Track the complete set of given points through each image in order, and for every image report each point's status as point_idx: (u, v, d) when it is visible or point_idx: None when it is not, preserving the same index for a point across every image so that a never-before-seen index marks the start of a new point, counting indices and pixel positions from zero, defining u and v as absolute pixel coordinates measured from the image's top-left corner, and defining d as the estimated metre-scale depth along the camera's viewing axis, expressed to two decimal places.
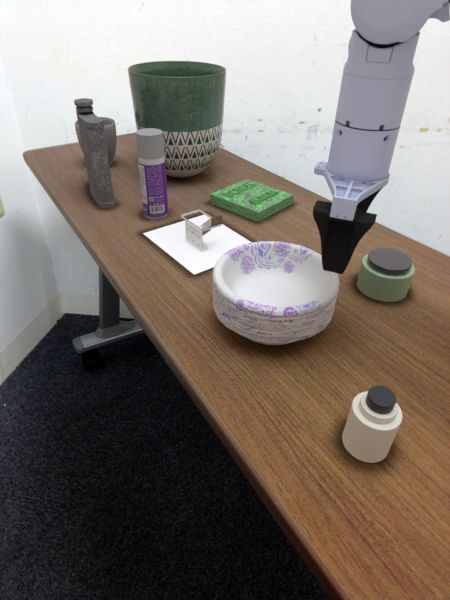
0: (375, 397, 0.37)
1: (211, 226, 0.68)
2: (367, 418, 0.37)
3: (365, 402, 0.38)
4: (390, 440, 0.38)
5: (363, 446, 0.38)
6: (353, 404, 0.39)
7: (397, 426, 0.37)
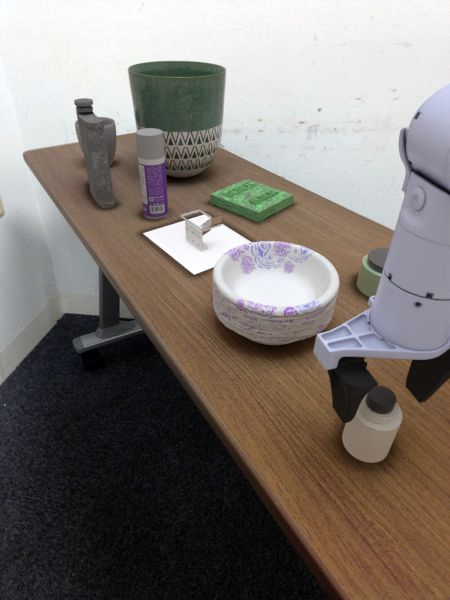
0: (375, 397, 0.37)
1: (211, 226, 0.68)
2: (367, 418, 0.37)
3: (365, 402, 0.38)
4: (390, 440, 0.38)
5: (363, 446, 0.38)
6: None
7: (397, 426, 0.37)
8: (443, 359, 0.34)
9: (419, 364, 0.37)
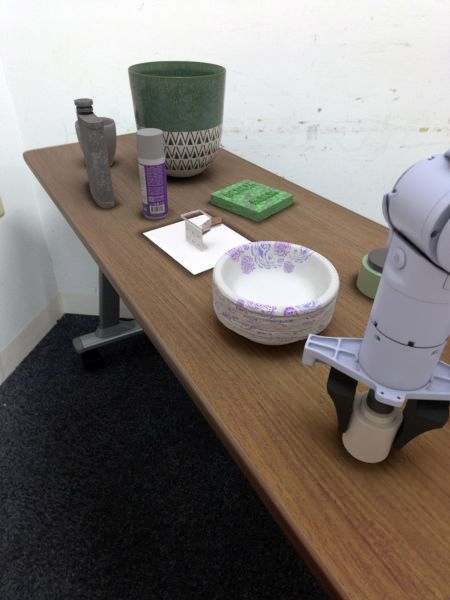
0: None
1: (211, 226, 0.68)
2: (367, 418, 0.37)
3: (366, 402, 0.38)
4: (390, 440, 0.38)
5: (363, 446, 0.38)
6: (353, 404, 0.39)
7: (397, 426, 0.37)
8: None
9: None
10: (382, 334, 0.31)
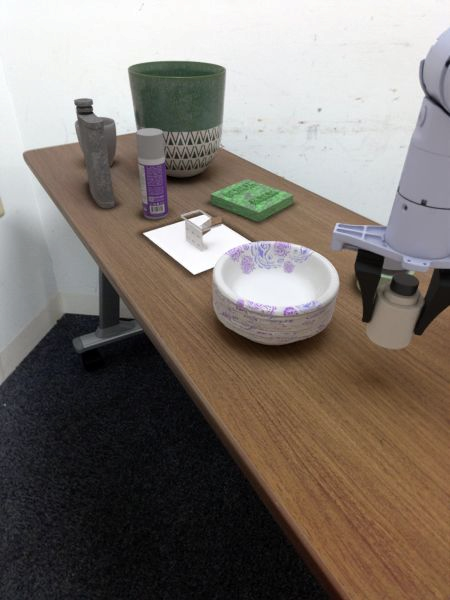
0: (399, 280, 0.39)
1: (211, 226, 0.68)
2: (391, 301, 0.40)
3: (390, 287, 0.40)
4: (413, 323, 0.40)
5: (387, 330, 0.41)
6: (378, 292, 0.41)
7: (420, 307, 0.39)
8: None
9: None
10: (410, 201, 0.33)
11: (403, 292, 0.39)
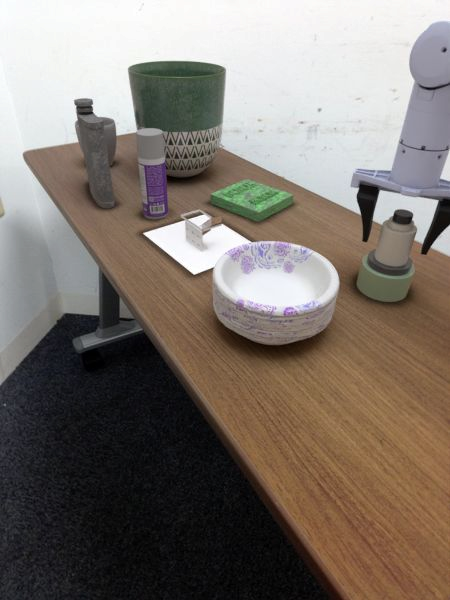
0: (399, 213, 0.55)
1: (211, 226, 0.68)
2: (393, 228, 0.56)
3: (392, 219, 0.56)
4: (408, 245, 0.56)
5: (389, 251, 0.57)
6: (383, 223, 0.57)
7: (413, 233, 0.55)
8: (377, 198, 0.57)
9: (371, 220, 0.57)
10: (406, 146, 0.49)
11: (401, 221, 0.55)
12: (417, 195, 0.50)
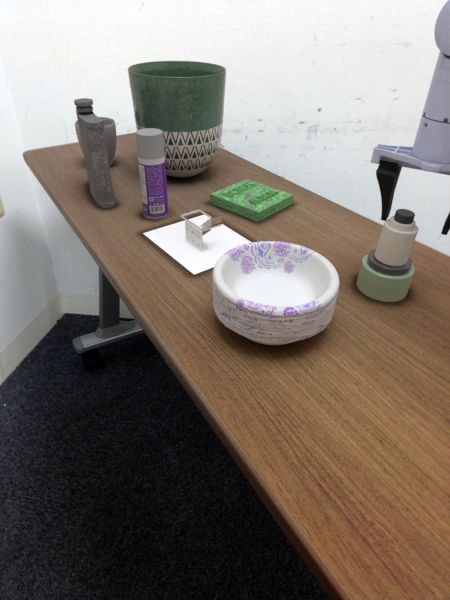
0: (401, 212, 0.55)
1: (211, 226, 0.68)
2: (394, 228, 0.56)
3: (394, 219, 0.56)
4: (409, 245, 0.56)
5: (390, 250, 0.57)
6: (385, 222, 0.57)
7: (414, 233, 0.55)
8: (398, 175, 0.56)
9: (390, 198, 0.56)
10: (429, 119, 0.48)
11: (403, 221, 0.55)
12: (438, 170, 0.49)
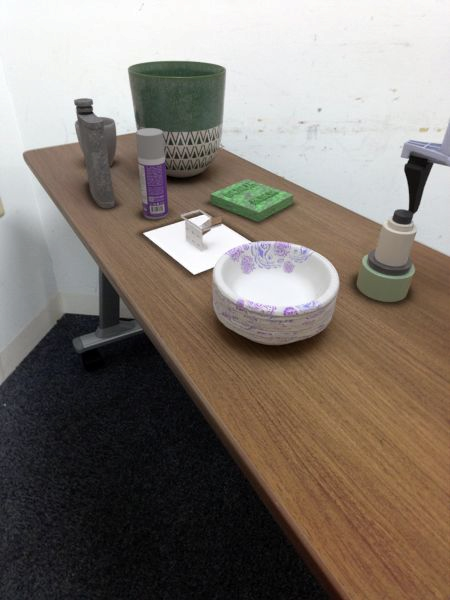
0: (399, 213, 0.55)
1: (211, 226, 0.68)
2: (393, 228, 0.56)
3: (392, 219, 0.56)
4: (408, 245, 0.56)
5: (389, 251, 0.57)
6: (383, 223, 0.57)
7: (413, 233, 0.55)
8: (428, 171, 0.57)
9: (418, 192, 0.58)
10: None
11: (401, 221, 0.55)
12: None
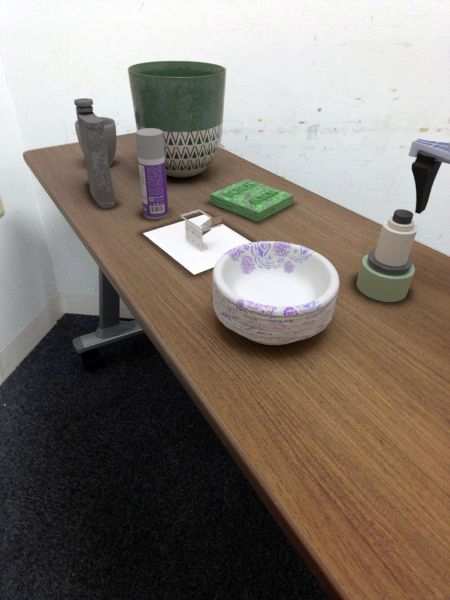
0: (399, 213, 0.55)
1: (211, 226, 0.68)
2: (393, 228, 0.56)
3: (392, 219, 0.56)
4: (408, 245, 0.56)
5: (389, 251, 0.57)
6: (383, 223, 0.57)
7: (413, 233, 0.55)
8: (436, 170, 0.58)
9: (425, 191, 0.58)
10: None
11: (401, 221, 0.55)
12: None
